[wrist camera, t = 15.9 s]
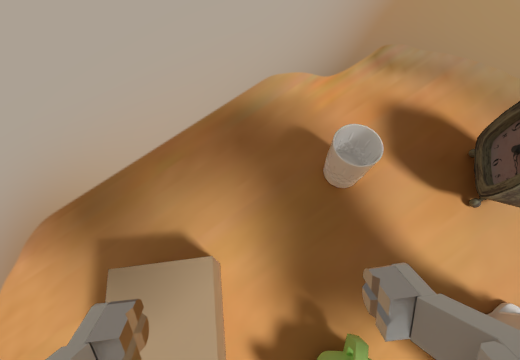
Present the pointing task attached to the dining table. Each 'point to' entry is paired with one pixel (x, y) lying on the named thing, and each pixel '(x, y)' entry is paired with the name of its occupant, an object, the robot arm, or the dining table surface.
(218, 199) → the dining table surface
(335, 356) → the teapot
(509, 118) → the tabletop clock
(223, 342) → the sleeve
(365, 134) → the white cup
